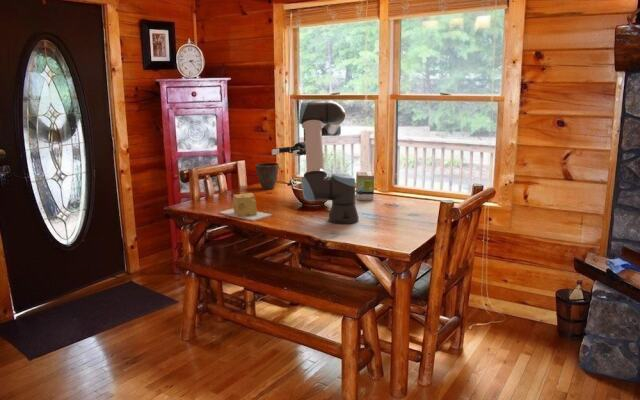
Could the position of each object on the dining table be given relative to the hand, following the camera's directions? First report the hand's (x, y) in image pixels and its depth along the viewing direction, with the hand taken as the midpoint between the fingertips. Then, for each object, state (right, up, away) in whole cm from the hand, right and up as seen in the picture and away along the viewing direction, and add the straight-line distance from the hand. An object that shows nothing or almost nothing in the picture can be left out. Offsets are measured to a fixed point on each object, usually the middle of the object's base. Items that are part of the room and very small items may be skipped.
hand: (282, 153), depth 285 cm
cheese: (-19, -33, -13) cm, 40 cm away
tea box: (+47, -24, +27) cm, 60 cm away
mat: (-19, -34, -11) cm, 40 cm away
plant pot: (-14, -19, +54) cm, 58 cm away
